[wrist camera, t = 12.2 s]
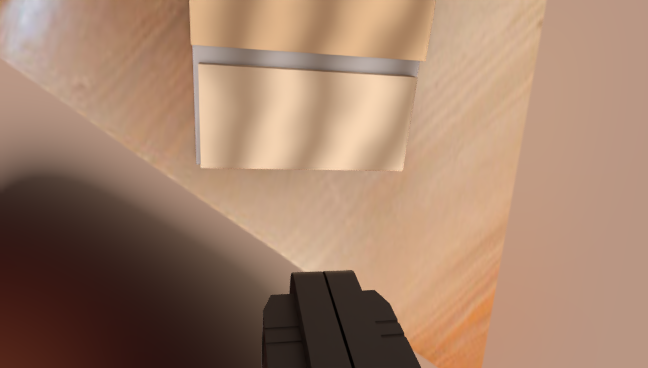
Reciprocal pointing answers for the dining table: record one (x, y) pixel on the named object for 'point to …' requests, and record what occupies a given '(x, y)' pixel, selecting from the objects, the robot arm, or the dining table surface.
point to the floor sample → (310, 36)
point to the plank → (303, 118)
